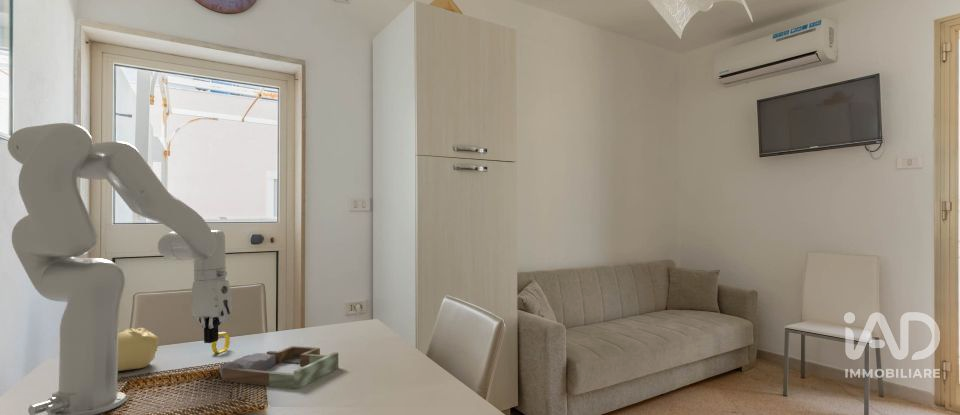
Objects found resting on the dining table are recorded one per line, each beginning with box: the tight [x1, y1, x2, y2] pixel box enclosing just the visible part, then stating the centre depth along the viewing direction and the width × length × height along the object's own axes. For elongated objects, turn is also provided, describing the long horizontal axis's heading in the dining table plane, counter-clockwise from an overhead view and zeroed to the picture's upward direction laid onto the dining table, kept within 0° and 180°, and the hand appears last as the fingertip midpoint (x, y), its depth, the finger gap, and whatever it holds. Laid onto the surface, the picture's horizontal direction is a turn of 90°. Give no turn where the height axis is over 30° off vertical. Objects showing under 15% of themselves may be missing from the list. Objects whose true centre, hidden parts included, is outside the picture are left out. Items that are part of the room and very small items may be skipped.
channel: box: [221, 345, 339, 390], centre depth 121 cm, size 22×22×4 cm
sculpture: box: [118, 327, 160, 372], centre depth 124 cm, size 11×12×11 cm
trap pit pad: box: [281, 357, 300, 365], centre depth 129 cm, size 5×7×1 cm
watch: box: [211, 331, 231, 354], centre depth 139 cm, size 6×3×6 cm, turn 169°
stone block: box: [219, 352, 276, 378], centre depth 121 cm, size 12×5×10 cm
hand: (211, 341), depth 125 cm, fingers closed
